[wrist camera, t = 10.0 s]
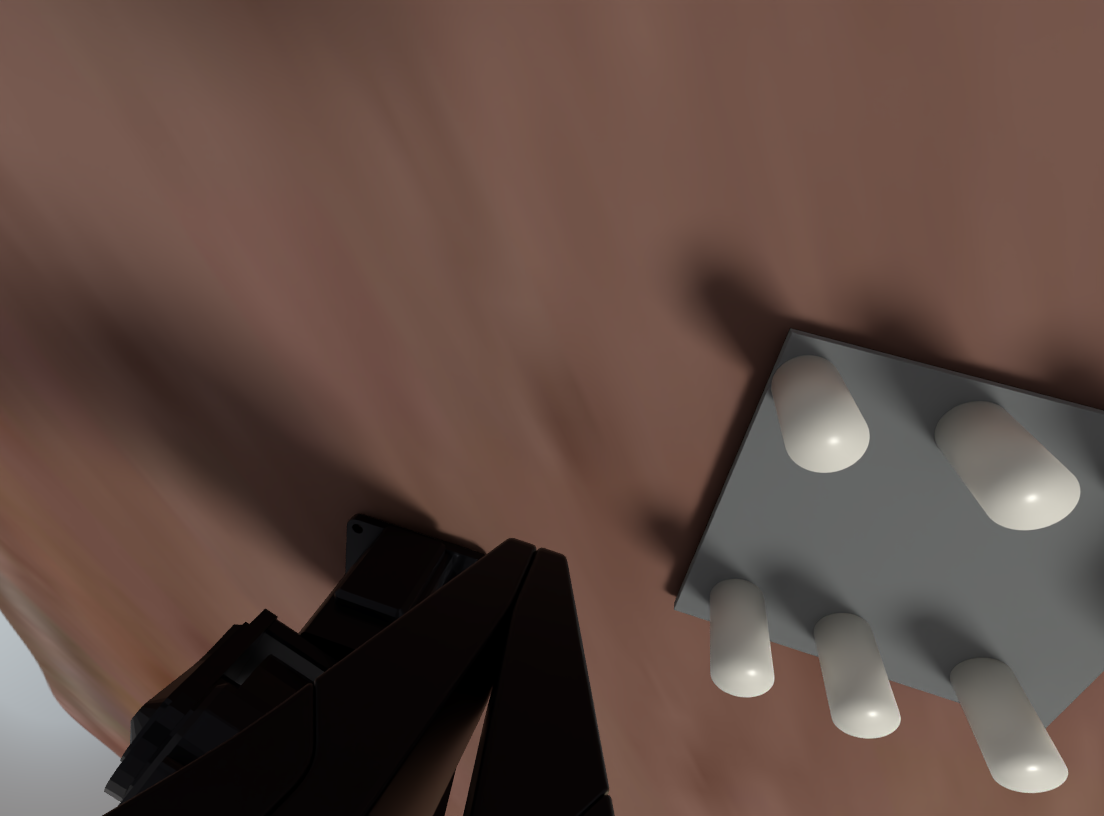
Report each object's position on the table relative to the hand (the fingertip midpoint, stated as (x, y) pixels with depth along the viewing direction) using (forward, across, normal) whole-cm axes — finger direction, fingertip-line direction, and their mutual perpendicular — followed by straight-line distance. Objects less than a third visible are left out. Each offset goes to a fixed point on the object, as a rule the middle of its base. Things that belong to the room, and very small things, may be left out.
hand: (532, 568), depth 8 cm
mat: (+12, -12, +5) cm, 18 cm away
